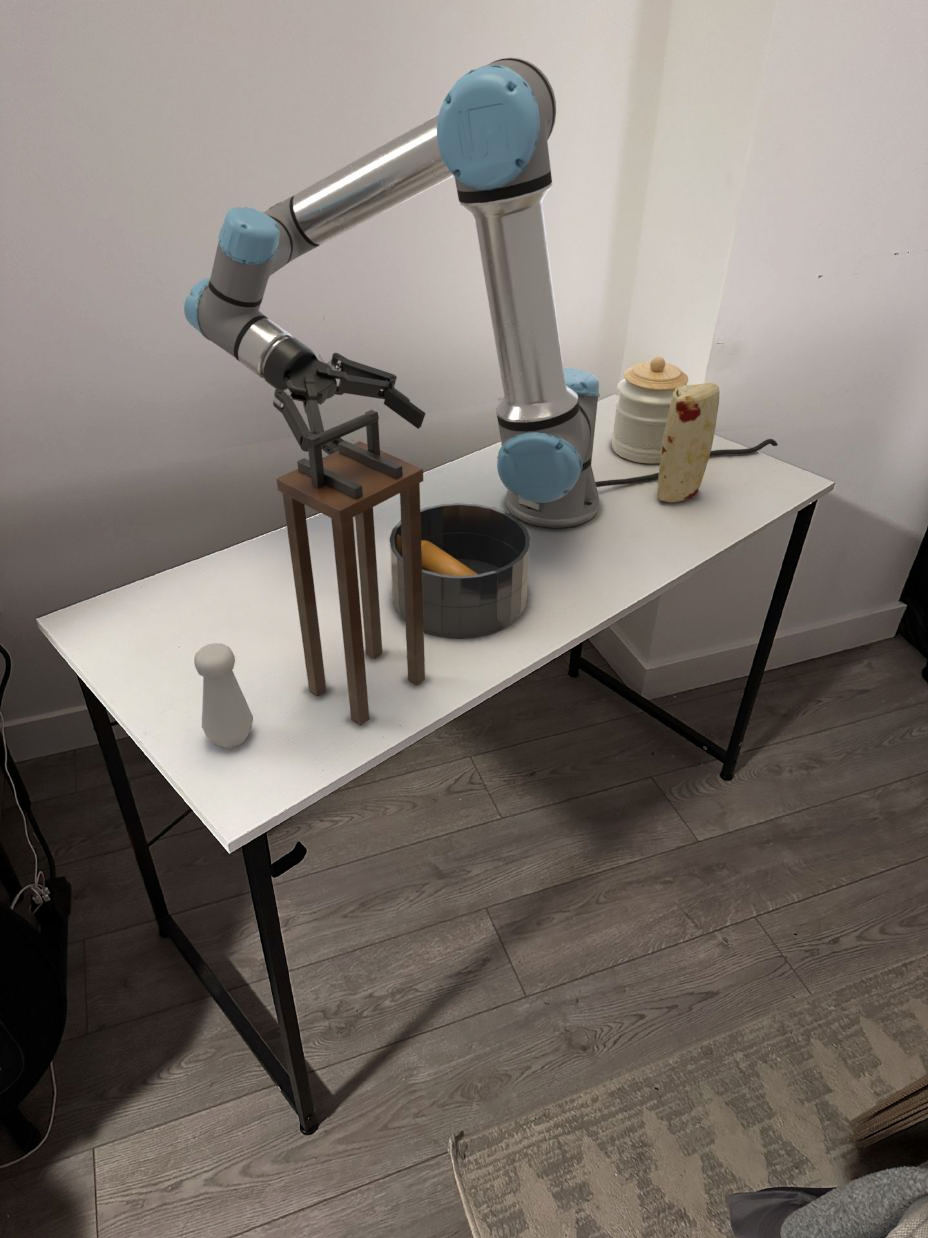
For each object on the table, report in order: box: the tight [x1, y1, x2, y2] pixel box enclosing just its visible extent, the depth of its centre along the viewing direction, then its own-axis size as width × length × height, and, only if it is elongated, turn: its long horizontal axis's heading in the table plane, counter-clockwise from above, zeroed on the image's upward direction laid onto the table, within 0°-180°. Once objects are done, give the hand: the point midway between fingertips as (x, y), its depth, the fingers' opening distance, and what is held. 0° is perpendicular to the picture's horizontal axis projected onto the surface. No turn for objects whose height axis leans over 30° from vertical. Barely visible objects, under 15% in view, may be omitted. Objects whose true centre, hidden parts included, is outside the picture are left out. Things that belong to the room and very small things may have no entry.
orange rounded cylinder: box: [421, 540, 478, 576], centre depth 126 cm, size 15×4×4 cm, turn 49°
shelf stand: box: [275, 409, 426, 726], centre depth 101 cm, size 10×12×36 cm
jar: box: [611, 356, 689, 465], centre depth 160 cm, size 13×13×18 cm
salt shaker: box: [193, 642, 254, 750], centre depth 101 cm, size 6×6×13 cm
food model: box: [657, 382, 720, 503], centre depth 145 cm, size 10×7×20 cm
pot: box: [388, 502, 531, 640], centre depth 124 cm, size 19×19×10 cm
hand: (394, 442), depth 124 cm, fingers open, 13 cm apart
